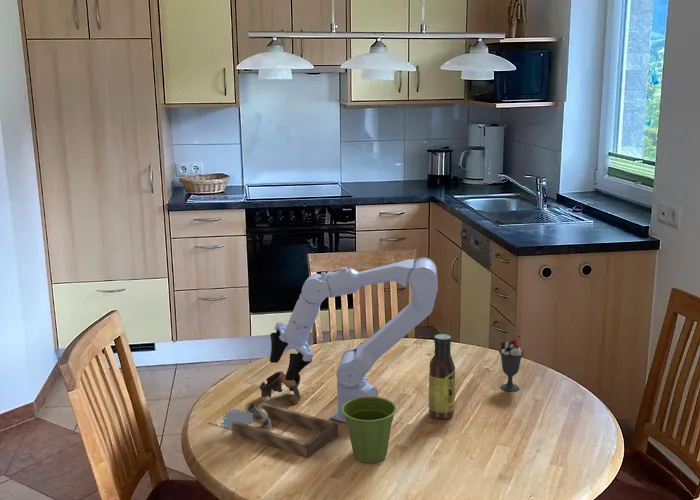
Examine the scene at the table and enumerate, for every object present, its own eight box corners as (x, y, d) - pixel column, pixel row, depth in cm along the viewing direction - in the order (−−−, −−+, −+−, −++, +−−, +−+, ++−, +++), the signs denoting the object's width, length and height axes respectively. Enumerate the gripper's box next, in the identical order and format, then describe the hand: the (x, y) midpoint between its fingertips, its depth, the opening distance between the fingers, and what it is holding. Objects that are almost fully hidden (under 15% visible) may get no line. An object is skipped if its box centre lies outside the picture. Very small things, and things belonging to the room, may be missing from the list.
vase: (249, 433, 168) (248, 409, 167) (246, 425, 173) (245, 401, 172) (272, 430, 169) (271, 406, 168) (268, 422, 174) (267, 398, 173)
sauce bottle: (453, 421, 173) (455, 342, 168) (427, 419, 174) (428, 341, 170) (455, 409, 179) (457, 333, 175) (429, 407, 180) (430, 331, 176)
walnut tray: (337, 435, 167) (337, 423, 166) (307, 458, 157) (307, 445, 156) (264, 414, 178) (264, 403, 177) (232, 434, 168) (231, 422, 167)
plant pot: (364, 437, 166) (364, 391, 163) (407, 453, 159) (407, 405, 156) (330, 457, 157) (329, 409, 154) (374, 476, 150) (374, 425, 147)
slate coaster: (261, 417, 177) (261, 416, 176) (236, 432, 169) (236, 431, 169) (232, 409, 181) (232, 407, 181) (207, 423, 174) (207, 422, 174)
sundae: (525, 393, 188) (528, 338, 184) (499, 393, 188) (501, 338, 184) (520, 382, 194) (522, 329, 191) (494, 382, 194) (496, 329, 191)
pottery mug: (291, 412, 180) (273, 385, 178) (266, 419, 186) (249, 393, 184) (315, 384, 189) (299, 358, 187) (291, 391, 195) (275, 366, 193)
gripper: (273, 305, 174) (253, 353, 178) (303, 337, 164) (282, 387, 168) (296, 307, 179) (277, 354, 183) (327, 338, 169) (306, 387, 172)
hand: (281, 370), depth 175 cm, fingers open, 7 cm apart
